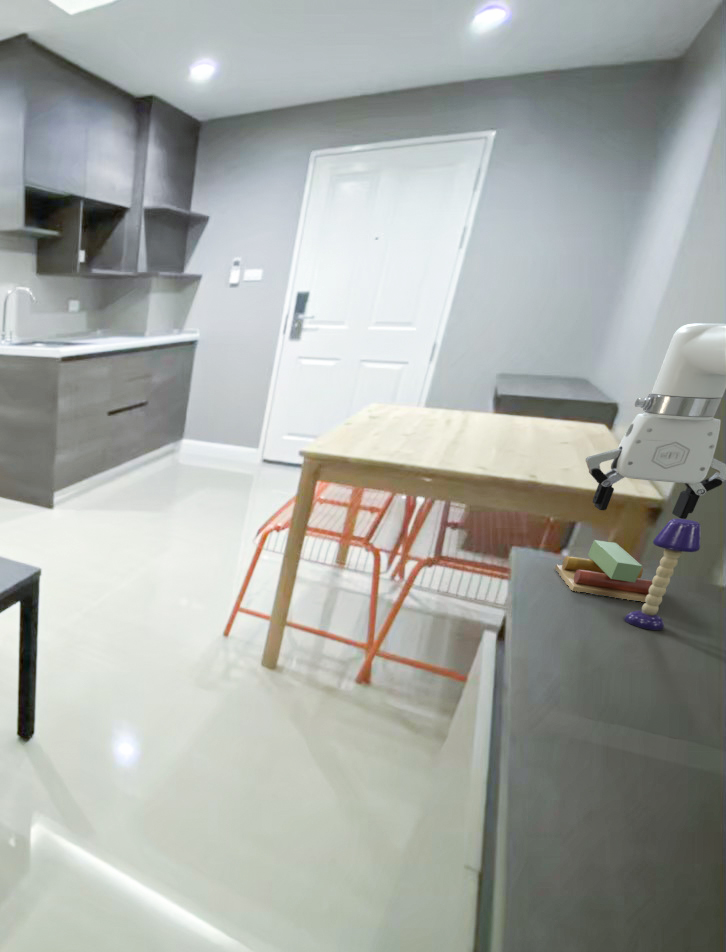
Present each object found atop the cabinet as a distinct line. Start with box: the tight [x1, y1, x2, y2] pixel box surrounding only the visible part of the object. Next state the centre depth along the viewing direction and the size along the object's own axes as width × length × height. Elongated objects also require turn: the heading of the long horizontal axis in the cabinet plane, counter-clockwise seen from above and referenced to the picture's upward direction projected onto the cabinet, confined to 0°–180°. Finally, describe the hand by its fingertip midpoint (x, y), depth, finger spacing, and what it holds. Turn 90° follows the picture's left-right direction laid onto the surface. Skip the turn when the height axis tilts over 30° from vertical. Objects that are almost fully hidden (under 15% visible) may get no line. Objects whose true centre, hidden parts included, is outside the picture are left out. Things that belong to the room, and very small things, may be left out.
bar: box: [587, 539, 643, 582], centre depth 104 cm, size 12×3×3 cm, turn 151°
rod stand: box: [554, 555, 653, 603], centre depth 106 cm, size 11×11×3 cm
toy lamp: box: [624, 518, 701, 631], centre depth 91 cm, size 5×5×17 cm
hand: (638, 512), depth 101 cm, fingers open, 9 cm apart
